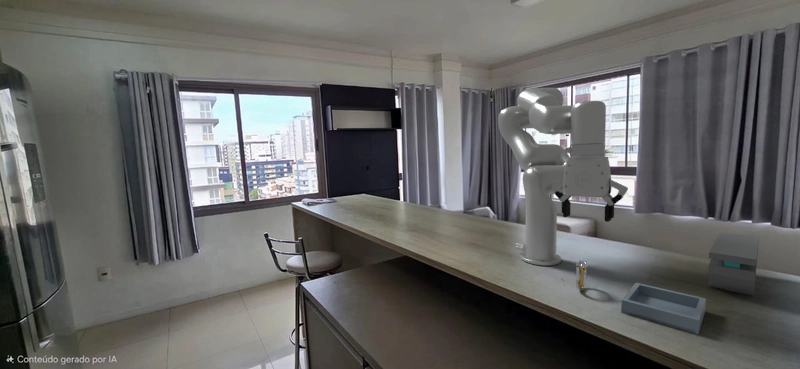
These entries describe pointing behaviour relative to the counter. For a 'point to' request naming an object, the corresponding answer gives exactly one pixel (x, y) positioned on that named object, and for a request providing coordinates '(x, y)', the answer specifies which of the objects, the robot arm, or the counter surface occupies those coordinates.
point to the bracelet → (583, 275)
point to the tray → (665, 307)
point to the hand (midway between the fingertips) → (586, 218)
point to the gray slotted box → (734, 263)
